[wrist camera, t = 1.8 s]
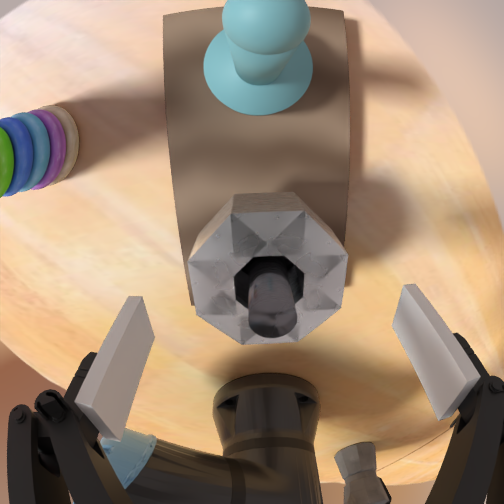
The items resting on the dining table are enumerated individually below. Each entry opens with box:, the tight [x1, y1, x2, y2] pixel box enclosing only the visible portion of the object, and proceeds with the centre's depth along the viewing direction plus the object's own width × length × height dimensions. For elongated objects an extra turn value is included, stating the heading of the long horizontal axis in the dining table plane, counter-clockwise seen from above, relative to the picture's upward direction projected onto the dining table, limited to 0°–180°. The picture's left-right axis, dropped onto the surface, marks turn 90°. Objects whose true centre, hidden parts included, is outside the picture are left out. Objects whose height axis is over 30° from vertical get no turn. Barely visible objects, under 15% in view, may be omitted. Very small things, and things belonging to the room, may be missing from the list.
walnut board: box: [163, 7, 350, 306], centre depth 22 cm, size 26×14×2 cm, turn 2°
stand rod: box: [241, 256, 297, 338], centre depth 19 cm, size 6×6×11 cm
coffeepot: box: [334, 442, 391, 504], centre depth 40 cm, size 15×9×18 cm, turn 58°
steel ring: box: [187, 192, 348, 345], centre depth 18 cm, size 9×9×4 cm
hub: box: [204, 0, 313, 116], centre depth 12 cm, size 7×7×14 cm
